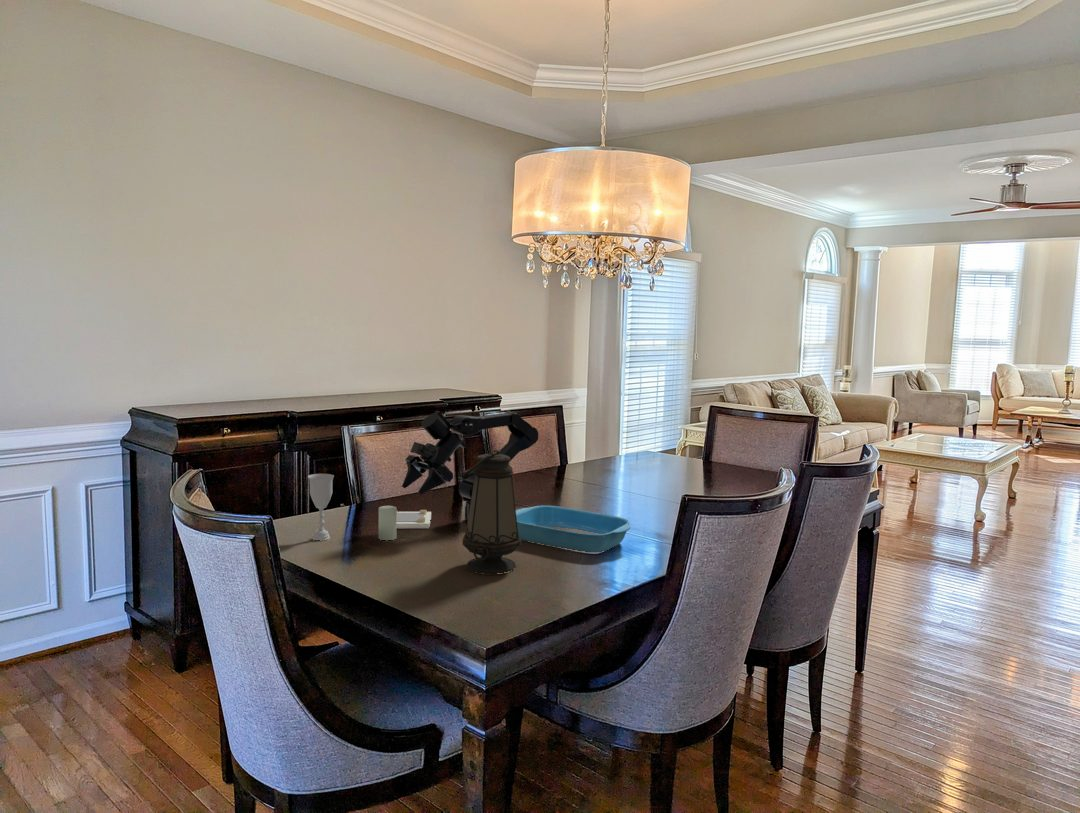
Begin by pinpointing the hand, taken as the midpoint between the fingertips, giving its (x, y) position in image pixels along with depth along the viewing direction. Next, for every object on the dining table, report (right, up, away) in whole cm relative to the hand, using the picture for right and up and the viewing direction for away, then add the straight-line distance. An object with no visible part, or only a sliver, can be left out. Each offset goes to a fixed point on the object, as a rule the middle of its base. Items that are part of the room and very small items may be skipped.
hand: (411, 490), depth 212 cm
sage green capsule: (-6, -13, -3) cm, 15 cm away
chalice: (-24, -13, -5) cm, 28 cm away
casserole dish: (+46, -15, 0) cm, 48 cm away
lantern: (+25, -17, -25) cm, 39 cm away
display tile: (-4, -12, +14) cm, 19 cm away
